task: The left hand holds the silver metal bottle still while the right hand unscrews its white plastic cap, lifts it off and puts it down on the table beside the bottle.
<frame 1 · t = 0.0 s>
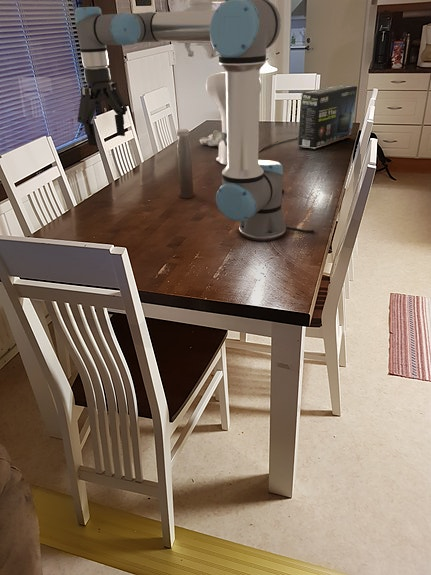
left hand: (202, 56, 172), 48 cm above the table, tool pointing down, fingers open, 8 cm apart
right hand: (107, 140, 148), 28 cm above the table, tool pointing down, fingers open, 13 cm apart
bottle: (187, 196, 182), on the table
cap: (182, 131, 169), point 25 cm above the table, screwed on, not yet turned
fossil: (215, 144, 251), on the table
handgun: (268, 186, 188), on the table
router box: (325, 143, 245), on the table
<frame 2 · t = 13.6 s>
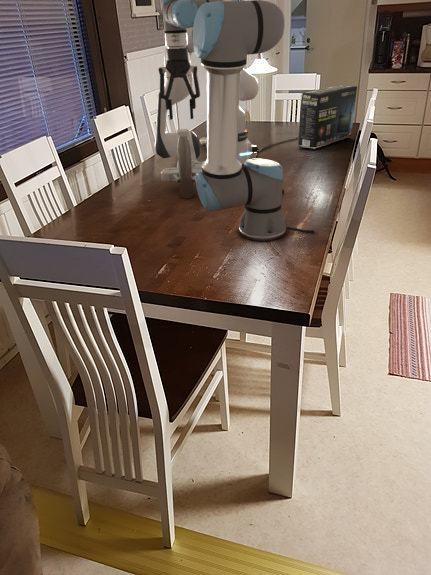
left hand: (186, 180, 178), 7 cm above the table, tool horizontal, fingers closed on bottle, 5 cm apart
right hand: (181, 118, 167), 29 cm above the table, tool pointing down, fingers open, 7 cm apart
bottle: (187, 196, 182), on the table, touching left hand
everything else where it was.
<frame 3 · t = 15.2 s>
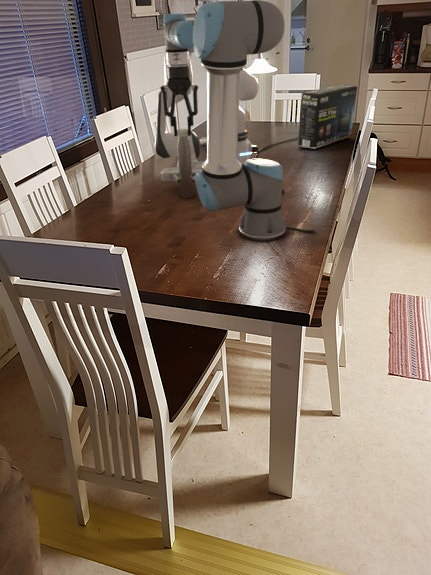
left hand: (186, 180, 178), 7 cm above the table, tool horizontal, fingers closed on bottle, 5 cm apart
right hand: (182, 135, 170), 24 cm above the table, tool pointing down, fingers closed on cap, 4 cm apart
bottle: (187, 196, 182), on the table, touching left hand
cap: (182, 131, 169), point 25 cm above the table, screwed on, not yet turned, touching right hand
everything else where it was.
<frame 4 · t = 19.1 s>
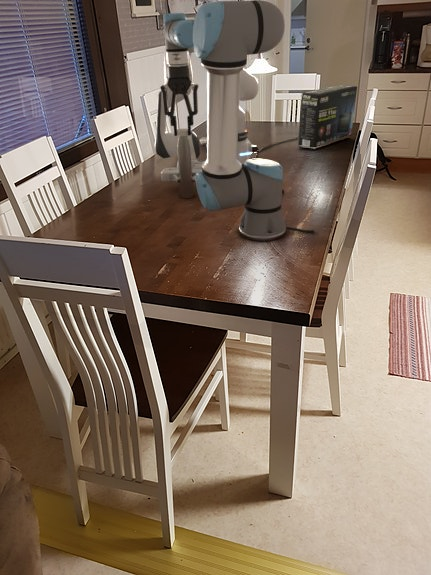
left hand: (186, 180, 178), 7 cm above the table, tool horizontal, fingers closed on bottle, 5 cm apart
right hand: (182, 134, 170), 24 cm above the table, tool pointing down, fingers closed on cap, 4 cm apart
bottle: (187, 196, 182), on the table, touching left hand
cap: (182, 130, 169), point 25 cm above the table, turned 133° so far, risen 0.1 cm, still on its thread, touching right hand
everything else where it was.
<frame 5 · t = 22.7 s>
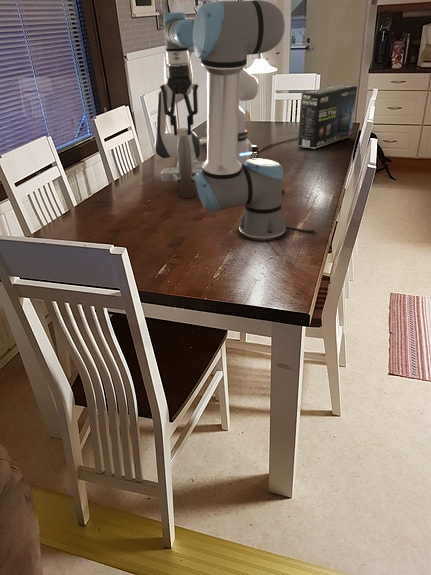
left hand: (186, 180, 178), 7 cm above the table, tool horizontal, fingers closed on bottle, 5 cm apart
right hand: (182, 134, 169), 24 cm above the table, tool pointing down, fingers closed on cap, 4 cm apart
bottle: (187, 196, 182), on the table, touching left hand
cap: (182, 130, 169), point 25 cm above the table, turned 265° so far, risen 0.3 cm, still on its thread, touching right hand
everything else where it was.
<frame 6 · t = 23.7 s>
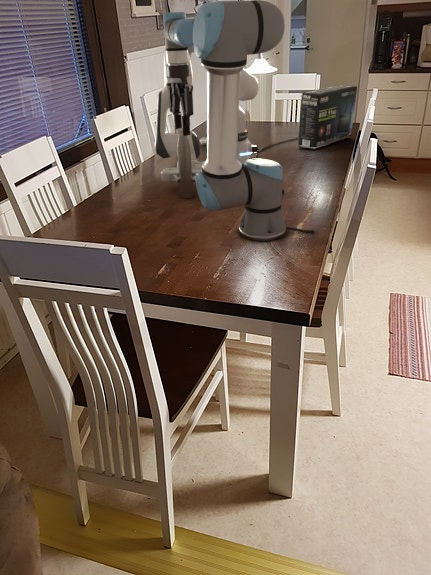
left hand: (186, 180, 178), 7 cm above the table, tool horizontal, fingers closed on bottle, 5 cm apart
right hand: (182, 134, 169), 24 cm above the table, tool pointing down, fingers closed on cap, 4 cm apart
bottle: (187, 196, 182), on the table, touching left hand
cap: (182, 129, 169), point 25 cm above the table, off its thread, touching right hand
everything else where it was.
when the right hand's fingers open (2 cm above the table, at t = 30.6 s): cap drops 2 cm, point 1 cm above the table.
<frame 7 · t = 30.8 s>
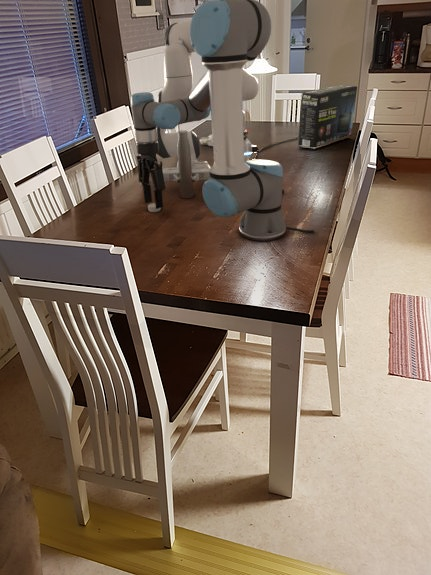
left hand: (186, 180, 177), 7 cm above the table, tool horizontal, fingers closed on bottle, 5 cm apart
right hand: (153, 204, 169), 2 cm above the table, tool pointing down, fingers open, 7 cm apart
bottle: (187, 196, 182), on the table, touching left hand
cap: (154, 206, 170), point 1 cm above the table, off its thread
everything else where it was.
when the left hand's fingers open (7 cm above the table, at t = 31.9 s): bottle stays where it is, on the table.
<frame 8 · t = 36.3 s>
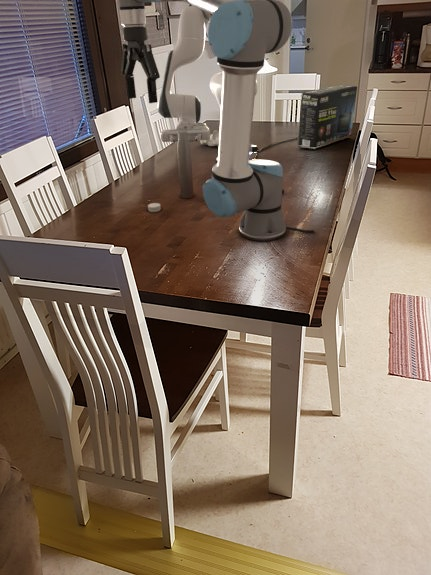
left hand: (184, 139, 183), 19 cm above the table, tool horizontal, fingers open, 8 cm apart
right hand: (142, 100, 151), 38 cm above the table, tool pointing down, fingers open, 13 cm apart
bottle: (187, 196, 182), on the table
everything else where it was.
at the end: cap came off its thread; cap point 1.5 cm above the table; the left hand is holding nothing; the right hand is holding nothing; bottle tilted 0°; bottle moved 0.0 cm from its start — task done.
